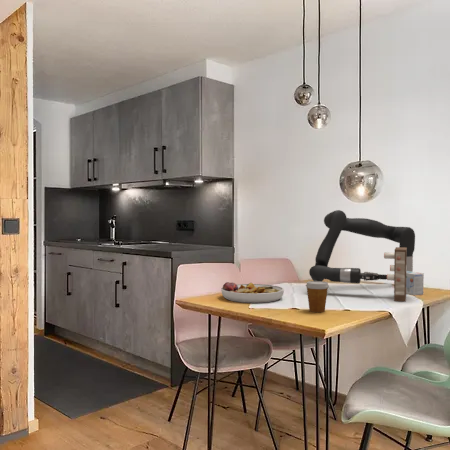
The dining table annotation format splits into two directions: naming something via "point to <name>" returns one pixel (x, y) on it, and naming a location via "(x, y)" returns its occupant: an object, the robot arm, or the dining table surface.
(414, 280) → the light bulb box
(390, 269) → the middle button
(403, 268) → the wooden peg board
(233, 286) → the bowl
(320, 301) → the disposable coffee cup
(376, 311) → the dining table surface
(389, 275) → the bottom button
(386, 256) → the top button
